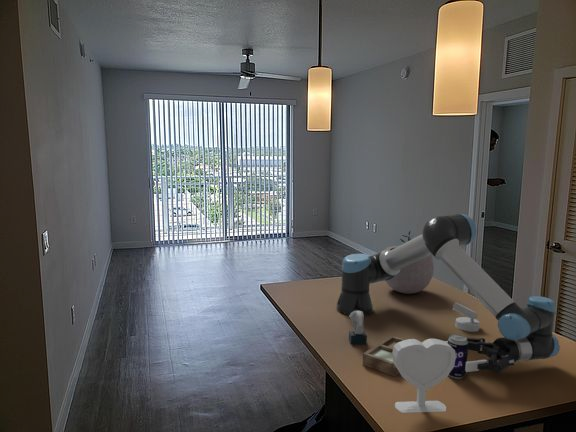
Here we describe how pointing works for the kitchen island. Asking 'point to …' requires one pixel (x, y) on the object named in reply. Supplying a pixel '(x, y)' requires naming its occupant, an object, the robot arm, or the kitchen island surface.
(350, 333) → the watch
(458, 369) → the beverage can
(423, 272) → the plant pot
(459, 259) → the robot arm
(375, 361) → the brown divided tray
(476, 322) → the wall hook
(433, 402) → the heart sculpture
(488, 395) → the kitchen island surface
